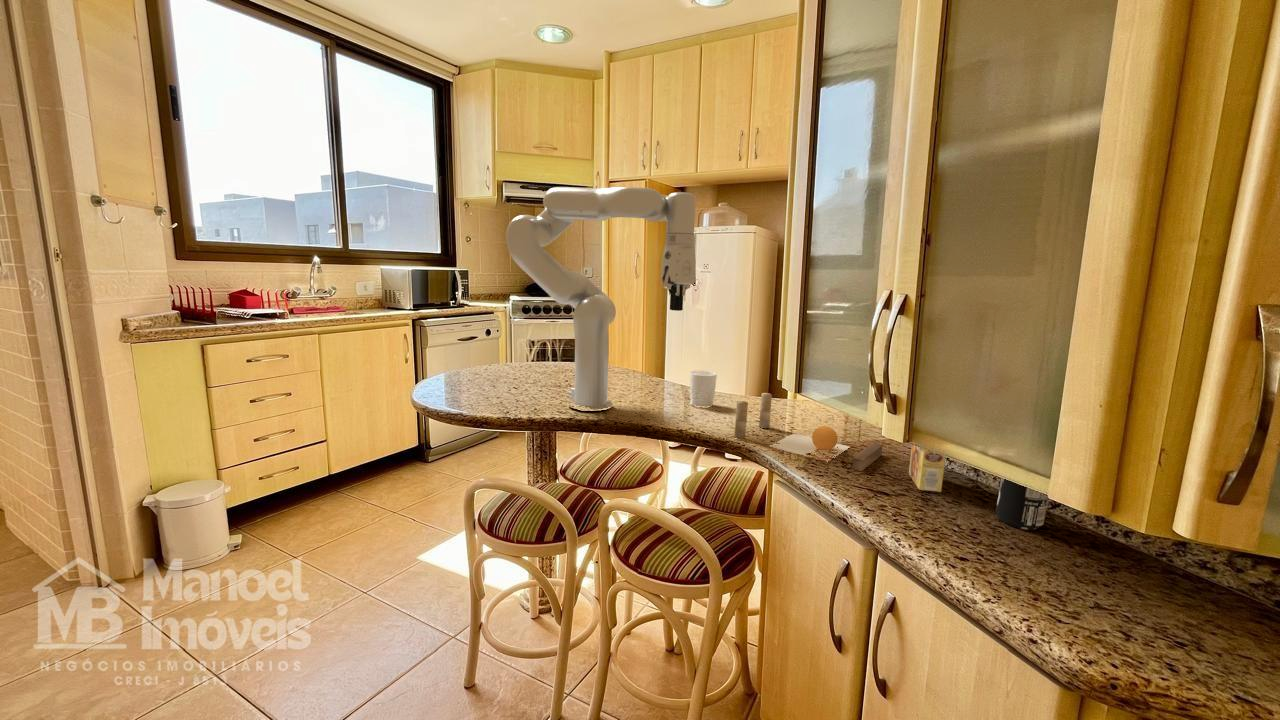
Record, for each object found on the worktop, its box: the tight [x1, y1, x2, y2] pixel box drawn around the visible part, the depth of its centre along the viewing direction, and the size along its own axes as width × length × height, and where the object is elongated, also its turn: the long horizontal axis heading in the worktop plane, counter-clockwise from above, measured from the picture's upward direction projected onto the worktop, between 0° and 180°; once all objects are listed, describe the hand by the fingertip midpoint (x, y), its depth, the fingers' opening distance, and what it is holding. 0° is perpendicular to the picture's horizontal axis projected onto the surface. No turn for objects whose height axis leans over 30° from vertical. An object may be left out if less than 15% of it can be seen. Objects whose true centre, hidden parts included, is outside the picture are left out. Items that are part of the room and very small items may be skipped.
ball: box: [811, 425, 838, 451], centre depth 120 cm, size 6×6×6 cm
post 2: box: [758, 392, 773, 429], centre depth 136 cm, size 3×3×9 cm
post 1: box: [734, 400, 749, 440], centre depth 126 cm, size 3×3×9 cm
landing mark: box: [769, 432, 851, 463], centre depth 122 cm, size 14×14×1 cm
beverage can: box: [995, 477, 1049, 531], centre depth 87 cm, size 7×7×12 cm
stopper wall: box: [851, 442, 884, 472], centre depth 114 cm, size 2×14×2 cm, turn 140°
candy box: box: [908, 444, 947, 493], centre depth 102 cm, size 9×4×15 cm, turn 166°
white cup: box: [689, 370, 718, 407], centre depth 156 cm, size 8×8×10 cm
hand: (676, 310), depth 142 cm, fingers closed
